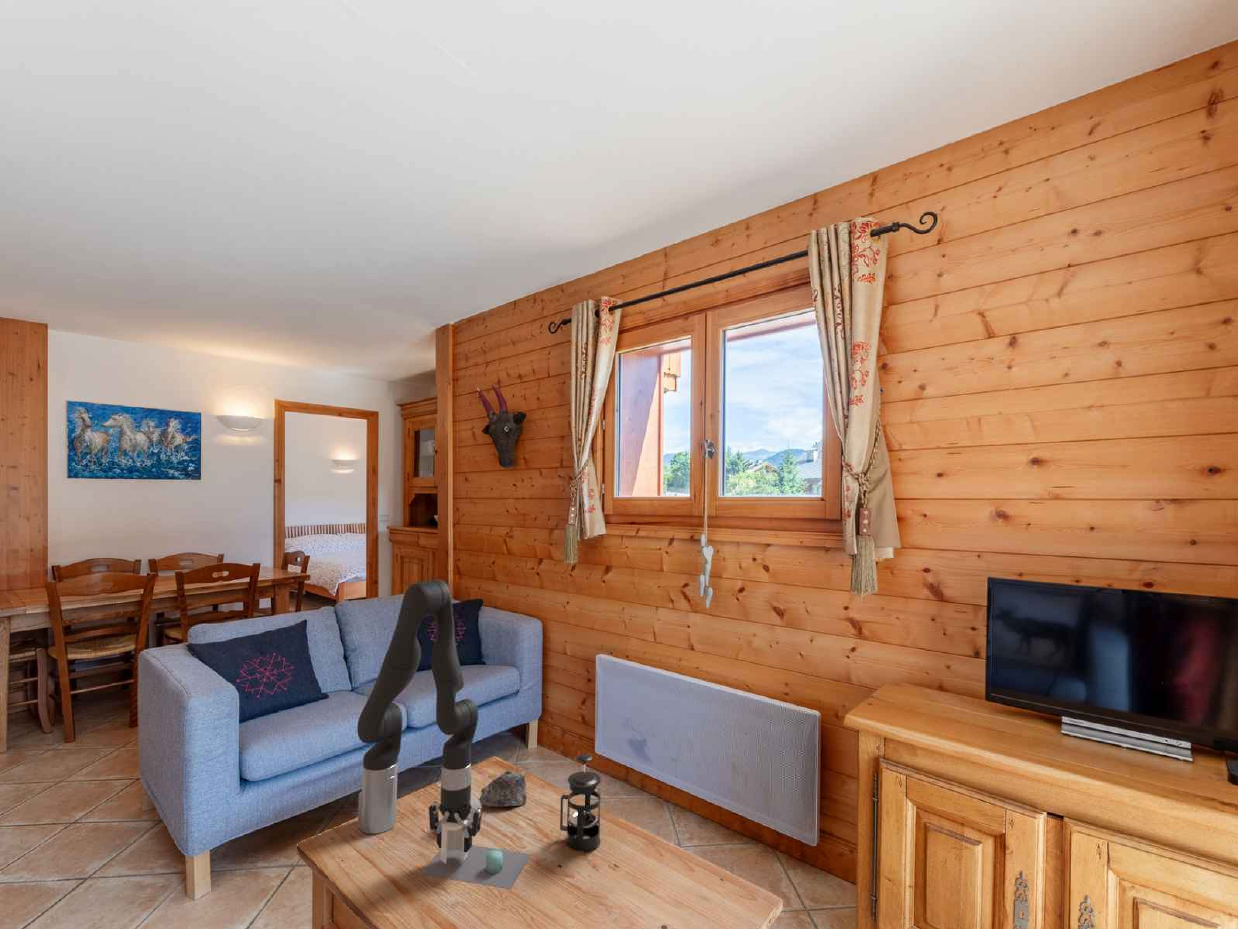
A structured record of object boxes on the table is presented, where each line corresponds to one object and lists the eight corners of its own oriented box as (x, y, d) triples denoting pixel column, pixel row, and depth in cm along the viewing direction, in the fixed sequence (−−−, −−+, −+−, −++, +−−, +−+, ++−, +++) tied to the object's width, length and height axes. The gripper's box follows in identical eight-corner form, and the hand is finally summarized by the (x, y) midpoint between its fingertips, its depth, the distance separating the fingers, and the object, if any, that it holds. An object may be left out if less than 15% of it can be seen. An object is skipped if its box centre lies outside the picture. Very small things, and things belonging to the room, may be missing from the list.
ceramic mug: (483, 822, 171) (484, 794, 172) (462, 835, 164) (463, 807, 165) (457, 811, 177) (457, 785, 177) (435, 825, 170) (436, 797, 170)
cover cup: (436, 862, 150) (437, 825, 150) (448, 847, 156) (449, 812, 156) (459, 866, 148) (460, 829, 149) (471, 851, 154) (472, 815, 155)
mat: (419, 875, 147) (419, 873, 147) (447, 842, 161) (447, 841, 161) (511, 891, 142) (511, 889, 142) (531, 855, 156) (531, 854, 156)
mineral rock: (477, 808, 178) (478, 774, 179) (493, 791, 189) (494, 759, 189) (516, 815, 175) (517, 780, 176) (531, 797, 186) (532, 764, 186)
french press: (605, 834, 166) (607, 750, 167) (599, 855, 157) (600, 766, 158) (564, 830, 168) (566, 747, 169) (556, 850, 159) (557, 762, 160)
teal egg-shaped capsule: (483, 873, 148) (483, 858, 148) (490, 863, 152) (490, 849, 152) (498, 875, 147) (498, 861, 147) (504, 865, 151) (505, 851, 151)
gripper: (422, 785, 151) (420, 853, 150) (475, 792, 148) (473, 861, 147) (437, 771, 158) (436, 836, 157) (488, 778, 155) (486, 844, 154)
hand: (454, 848), depth 152 cm, fingers closed on cover cup, 6 cm apart
